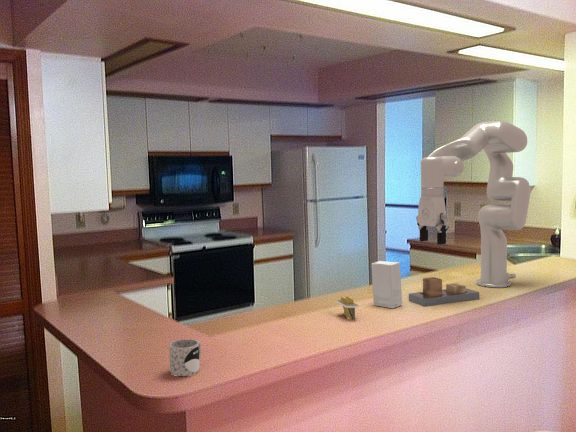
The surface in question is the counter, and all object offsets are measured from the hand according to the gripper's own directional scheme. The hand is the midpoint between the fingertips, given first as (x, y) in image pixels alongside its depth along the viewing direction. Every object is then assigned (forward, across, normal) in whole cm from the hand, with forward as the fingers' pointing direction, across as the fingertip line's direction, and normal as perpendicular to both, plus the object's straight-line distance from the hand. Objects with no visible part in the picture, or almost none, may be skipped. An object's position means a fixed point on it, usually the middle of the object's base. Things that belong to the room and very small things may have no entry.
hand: (432, 242), depth 182 cm
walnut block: (+20, +1, -1) cm, 20 cm away
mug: (+20, +29, -91) cm, 98 cm away
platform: (+21, +6, -37) cm, 43 cm away
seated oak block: (+21, +1, +9) cm, 23 cm away
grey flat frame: (+20, +1, +4) cm, 21 cm away
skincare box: (+20, -1, -18) cm, 27 cm away
